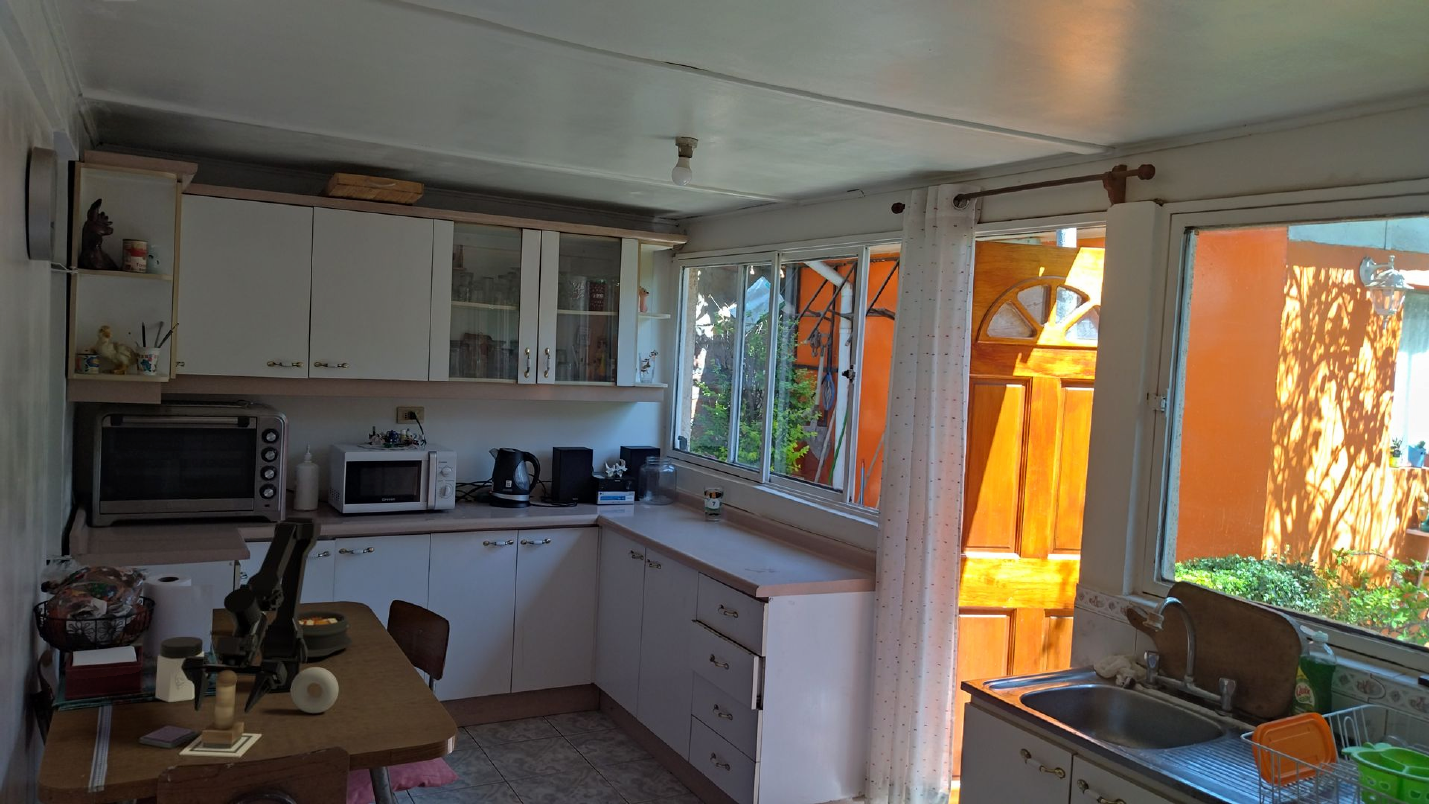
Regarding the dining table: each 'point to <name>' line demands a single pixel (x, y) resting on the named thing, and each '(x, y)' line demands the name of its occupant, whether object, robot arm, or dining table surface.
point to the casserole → (324, 632)
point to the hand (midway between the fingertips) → (220, 711)
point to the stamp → (223, 715)
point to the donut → (309, 702)
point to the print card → (235, 751)
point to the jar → (176, 668)
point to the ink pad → (168, 737)
